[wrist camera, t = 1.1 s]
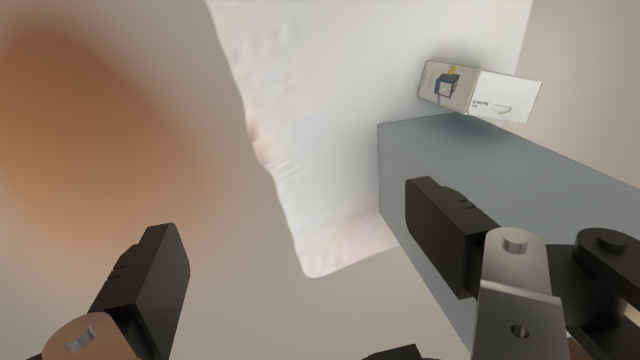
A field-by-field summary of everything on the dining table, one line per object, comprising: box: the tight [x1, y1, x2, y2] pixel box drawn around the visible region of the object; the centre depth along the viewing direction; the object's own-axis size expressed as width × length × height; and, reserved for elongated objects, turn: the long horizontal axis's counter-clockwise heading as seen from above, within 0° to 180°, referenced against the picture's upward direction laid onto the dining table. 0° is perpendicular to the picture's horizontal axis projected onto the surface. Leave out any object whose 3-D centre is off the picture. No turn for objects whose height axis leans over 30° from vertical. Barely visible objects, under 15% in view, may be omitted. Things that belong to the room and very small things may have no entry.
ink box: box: [418, 61, 543, 123], centre depth 41 cm, size 9×5×12 cm, turn 81°
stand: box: [378, 112, 640, 354], centre depth 37 cm, size 15×13×32 cm
